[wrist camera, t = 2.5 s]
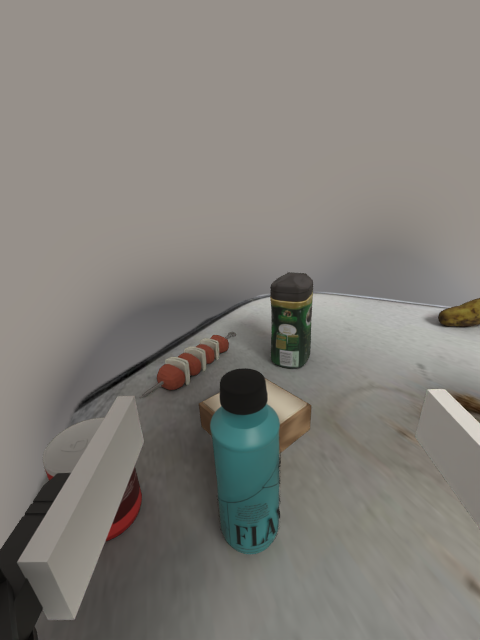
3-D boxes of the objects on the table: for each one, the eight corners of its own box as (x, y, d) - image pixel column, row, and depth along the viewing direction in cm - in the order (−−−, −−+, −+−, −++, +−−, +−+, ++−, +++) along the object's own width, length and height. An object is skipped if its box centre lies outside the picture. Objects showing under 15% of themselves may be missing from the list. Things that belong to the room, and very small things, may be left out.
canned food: (72, 499, 37) (45, 431, 33) (138, 473, 41) (121, 408, 36) (69, 561, 31) (36, 487, 27) (148, 525, 34) (129, 453, 30)
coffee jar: (279, 345, 71) (280, 268, 64) (312, 350, 68) (317, 270, 61) (265, 366, 63) (264, 281, 56) (303, 373, 60) (307, 284, 53)
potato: (437, 316, 83) (443, 288, 79) (496, 325, 76) (506, 295, 73) (435, 328, 76) (443, 298, 73) (501, 338, 70) (512, 306, 66)
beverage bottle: (230, 576, 29) (213, 414, 21) (214, 513, 35) (196, 366, 27) (290, 552, 31) (297, 393, 23) (266, 495, 37) (264, 352, 29)
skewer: (242, 326, 73) (148, 391, 49) (242, 343, 75) (152, 414, 51) (224, 322, 75) (127, 382, 52) (225, 339, 77) (131, 404, 54)
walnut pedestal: (256, 394, 55) (255, 370, 53) (309, 429, 46) (311, 403, 44) (201, 426, 48) (198, 401, 46) (252, 475, 39) (251, 446, 37)
